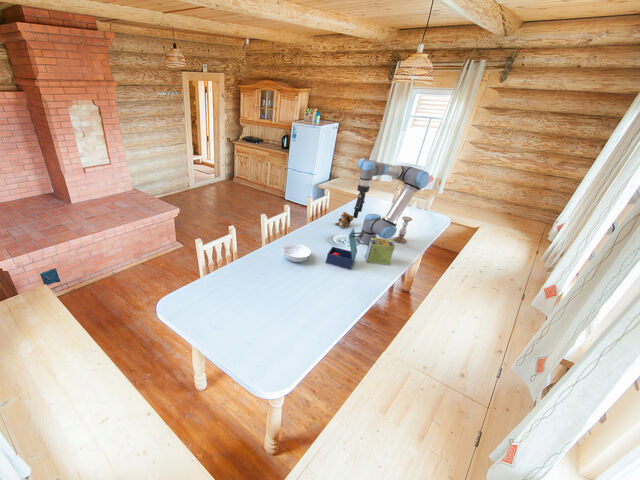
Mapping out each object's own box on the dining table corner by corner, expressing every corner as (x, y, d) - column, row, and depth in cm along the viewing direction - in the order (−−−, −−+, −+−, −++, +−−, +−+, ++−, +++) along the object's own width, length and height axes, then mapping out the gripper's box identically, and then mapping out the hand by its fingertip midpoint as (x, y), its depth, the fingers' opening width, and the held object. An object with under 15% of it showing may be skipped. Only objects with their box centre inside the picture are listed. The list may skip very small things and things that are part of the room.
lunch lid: (348, 235, 212) (361, 234, 208) (352, 228, 222) (365, 227, 217) (352, 259, 219) (364, 259, 214) (356, 252, 228) (368, 251, 224)
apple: (332, 254, 235) (332, 248, 228) (342, 256, 232) (342, 251, 225) (329, 262, 232) (329, 257, 226) (338, 264, 229) (338, 259, 223)
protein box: (389, 265, 230) (395, 246, 222) (367, 262, 232) (372, 243, 224) (386, 258, 238) (392, 239, 230) (365, 255, 241) (370, 237, 233)
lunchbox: (325, 262, 230) (327, 253, 226) (330, 255, 240) (332, 246, 236) (350, 269, 223) (352, 260, 219) (354, 261, 232) (356, 252, 228)
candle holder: (403, 238, 268) (410, 216, 257) (407, 243, 260) (414, 220, 250) (392, 237, 268) (399, 215, 258) (396, 242, 261) (403, 219, 250)
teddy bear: (334, 224, 289) (337, 211, 282) (346, 222, 294) (349, 208, 287) (341, 228, 281) (344, 215, 274) (353, 226, 286) (357, 212, 280)
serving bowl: (309, 267, 224) (311, 258, 221) (280, 263, 228) (281, 255, 224) (310, 253, 242) (311, 245, 238) (282, 250, 245) (283, 242, 241)
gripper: (362, 179, 224) (355, 208, 235) (354, 189, 205) (347, 219, 217) (373, 181, 221) (366, 210, 232) (366, 191, 202) (358, 221, 214)
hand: (357, 214), depth 224 cm, fingers open, 13 cm apart
